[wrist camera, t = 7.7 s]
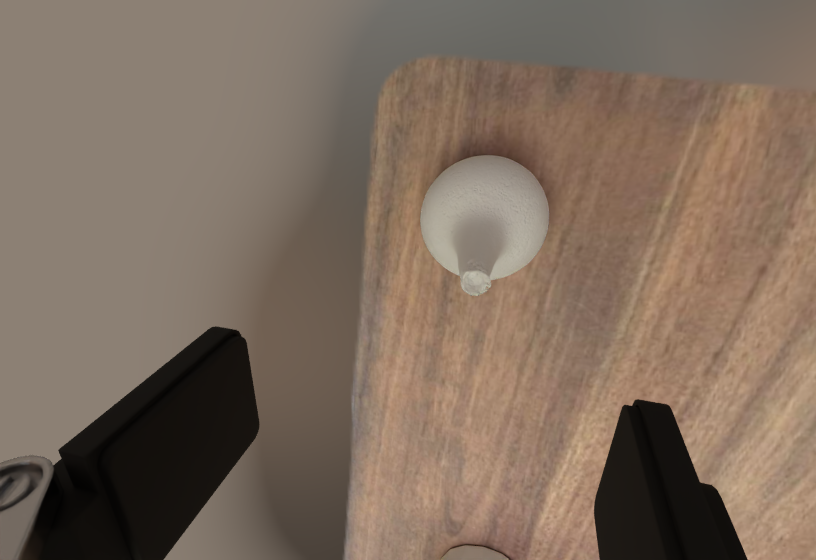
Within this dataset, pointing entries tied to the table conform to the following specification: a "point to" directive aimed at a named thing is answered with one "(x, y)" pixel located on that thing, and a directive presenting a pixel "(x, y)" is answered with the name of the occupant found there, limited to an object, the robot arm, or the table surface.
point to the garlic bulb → (484, 219)
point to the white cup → (473, 554)
